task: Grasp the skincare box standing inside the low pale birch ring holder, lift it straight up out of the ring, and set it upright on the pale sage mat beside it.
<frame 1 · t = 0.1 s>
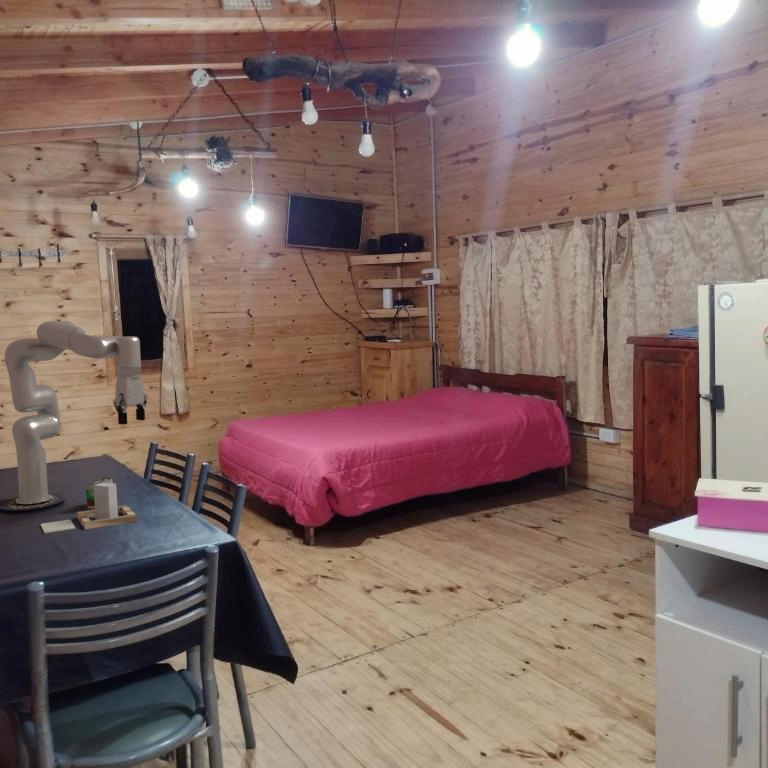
hand: (132, 422, 249), 31 cm above the table, tool pointing down, fingers open, 9 cm apart
food container: (103, 508, 256), on the table
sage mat: (57, 526, 233), on the table
skincare box: (106, 520, 240), resting in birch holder
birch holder: (106, 519, 240), on the table
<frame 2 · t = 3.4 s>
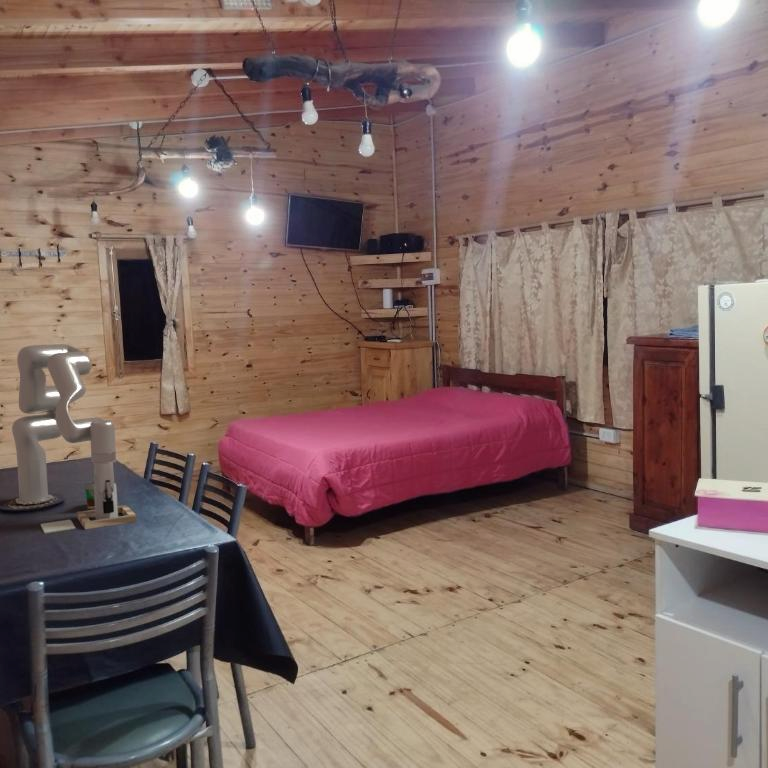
hand: (106, 509, 240), 3 cm above the table, tool pointing down, fingers closed on skincare box, 7 cm apart
skincare box: (106, 520, 240), resting in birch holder, touching gripper
everything else where it was.
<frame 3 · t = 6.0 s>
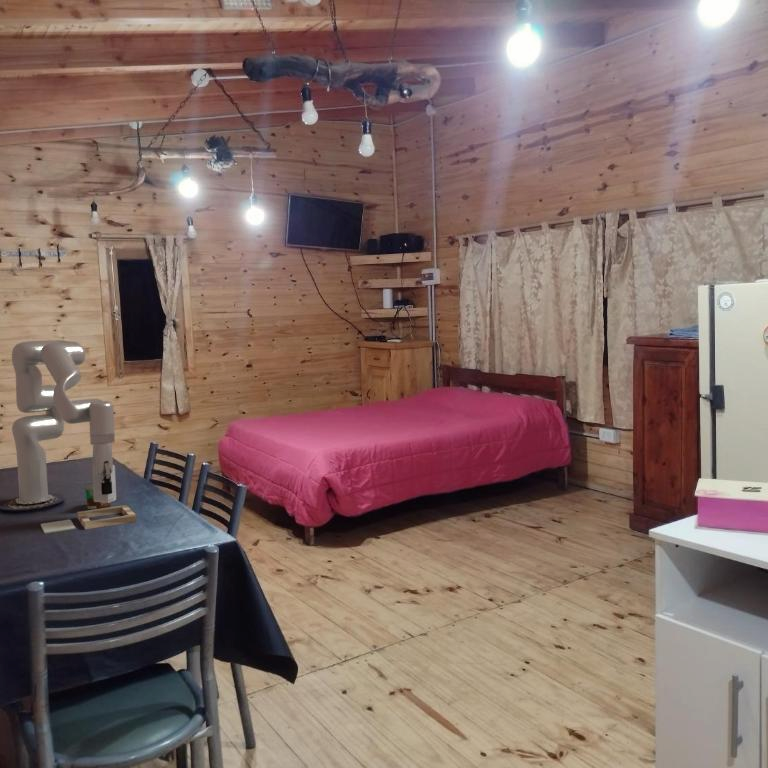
hand: (104, 491, 240), 10 cm above the table, tool pointing down, fingers closed on skincare box, 7 cm apart
skincare box: (105, 501, 240), point 6 cm above the table, touching gripper
everything else where it was.
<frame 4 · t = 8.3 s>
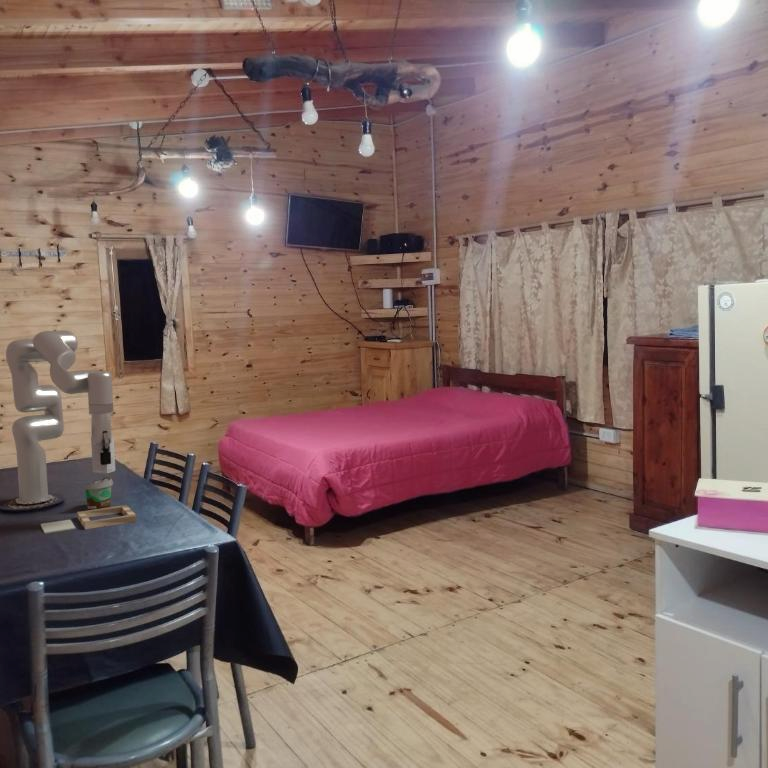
hand: (103, 461, 239), 20 cm above the table, tool pointing down, fingers closed on skincare box, 7 cm apart
skincare box: (104, 472, 239), point 16 cm above the table, touching gripper
everything else where it was.
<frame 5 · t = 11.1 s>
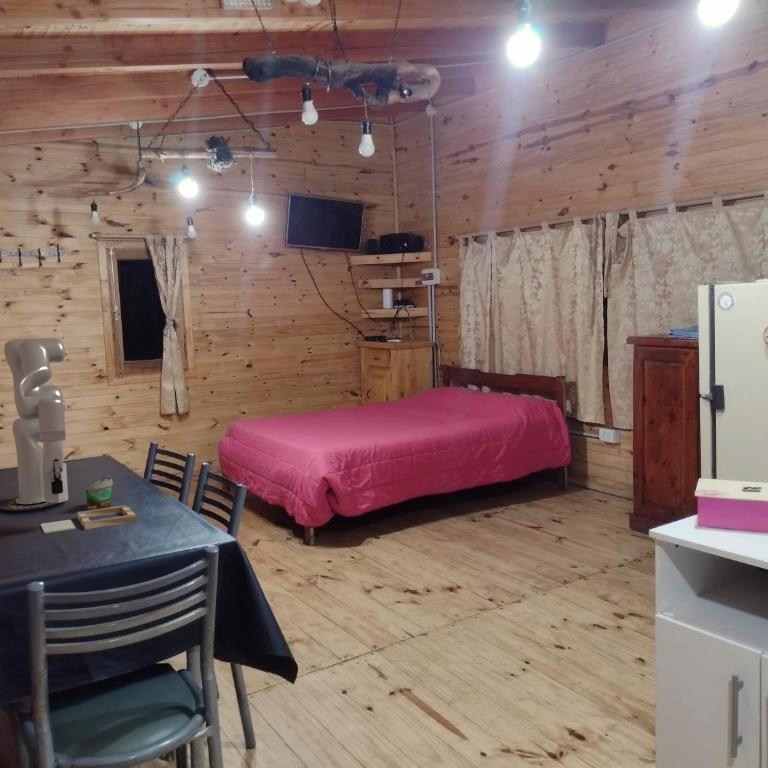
hand: (55, 490, 232), 12 cm above the table, tool pointing down, fingers closed on skincare box, 7 cm apart
skincare box: (56, 501, 232), point 8 cm above the table, touching gripper
everything else where it was.
when the fingers open (5 cm above the table, at t = 13.4 s): skincare box stays where it is, resting on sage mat.
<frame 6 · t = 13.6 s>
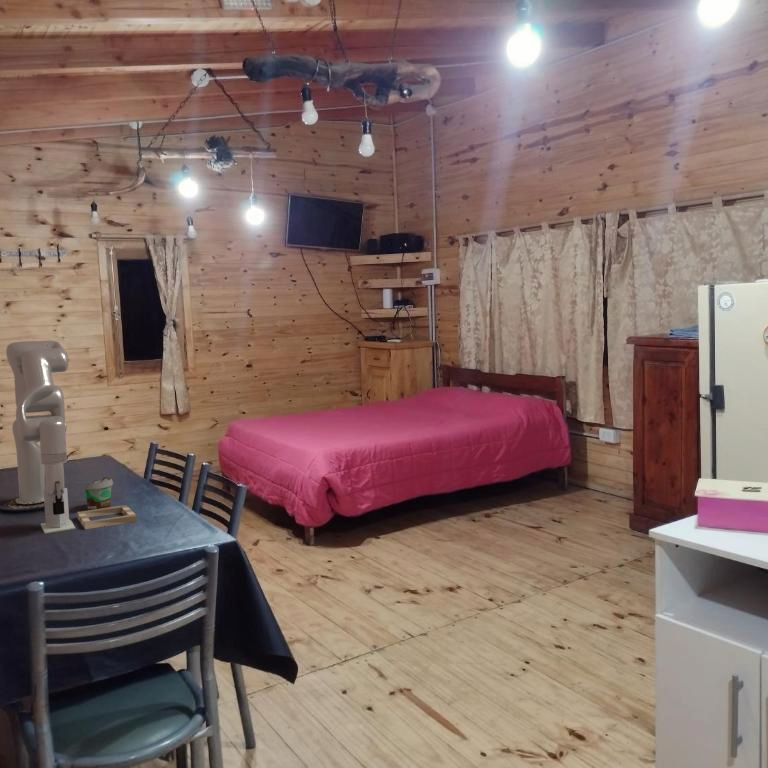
hand: (56, 510, 232), 5 cm above the table, tool pointing down, fingers open, 9 cm apart
skincare box: (57, 526, 233), resting on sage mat
everything else where it was.
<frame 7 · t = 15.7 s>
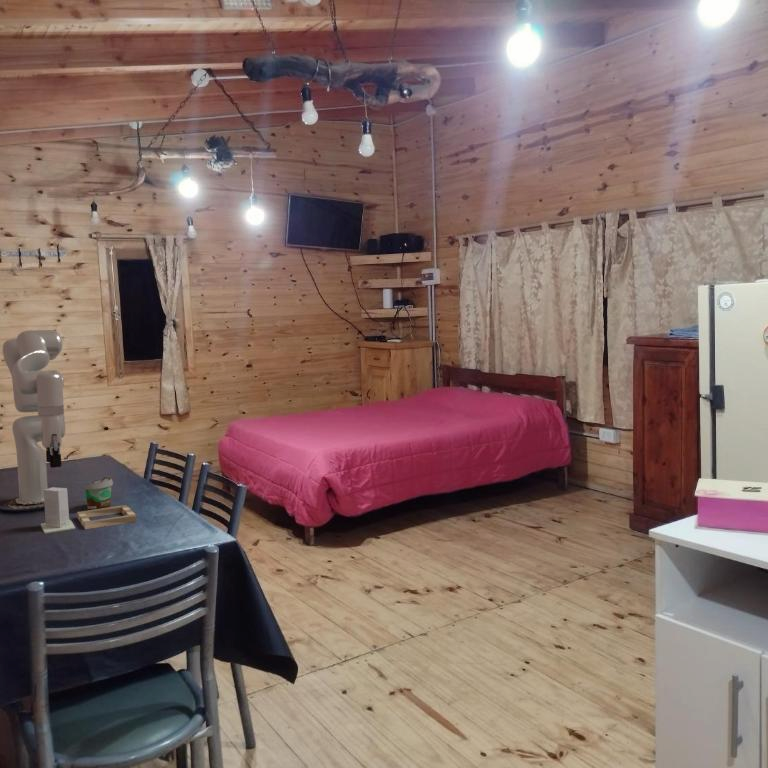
hand: (53, 464, 231), 20 cm above the table, tool pointing down, fingers open, 9 cm apart
nothing on the table moved.
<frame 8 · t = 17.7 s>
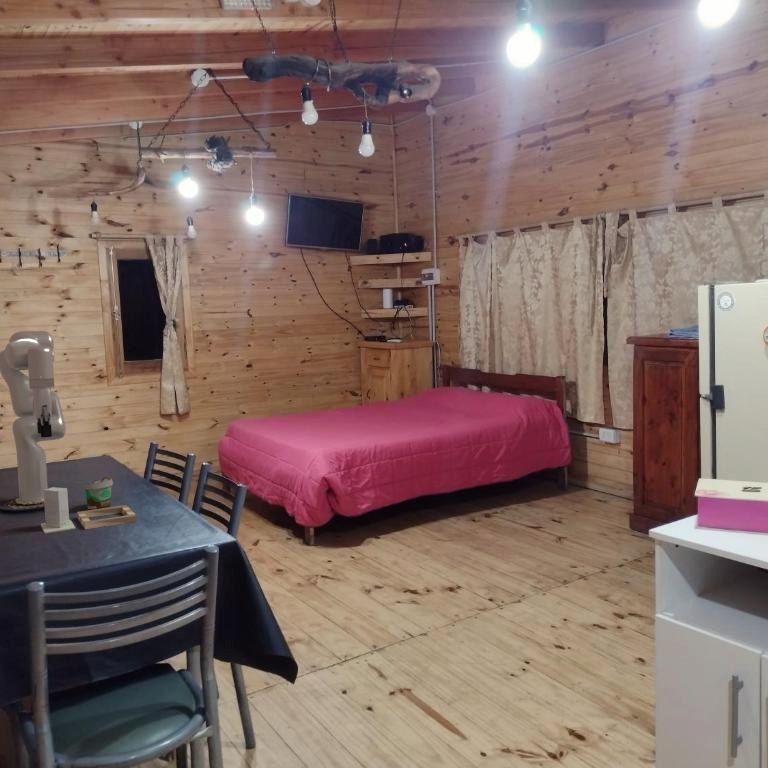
hand: (44, 435, 241), 28 cm above the table, tool pointing down, fingers open, 9 cm apart
nothing on the table moved.
at the end: skincare box inside the target area on the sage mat (0.4 cm from its centre), point 0.2 cm above the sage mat's base; skincare box tilted 0°; the gripper is holding nothing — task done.
